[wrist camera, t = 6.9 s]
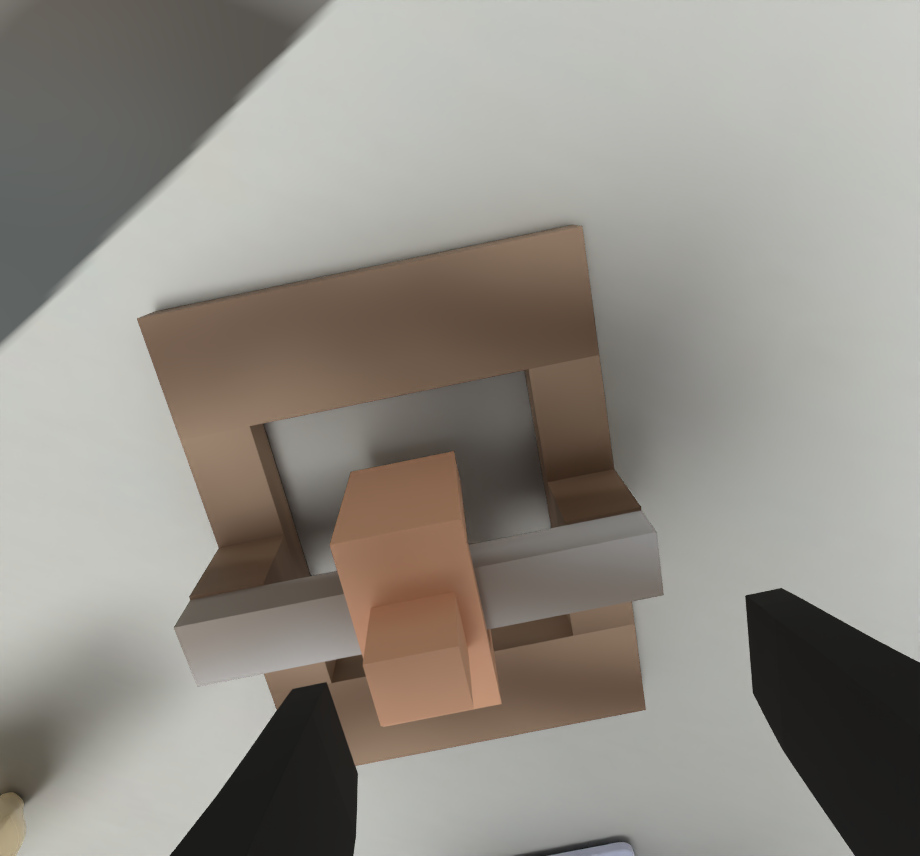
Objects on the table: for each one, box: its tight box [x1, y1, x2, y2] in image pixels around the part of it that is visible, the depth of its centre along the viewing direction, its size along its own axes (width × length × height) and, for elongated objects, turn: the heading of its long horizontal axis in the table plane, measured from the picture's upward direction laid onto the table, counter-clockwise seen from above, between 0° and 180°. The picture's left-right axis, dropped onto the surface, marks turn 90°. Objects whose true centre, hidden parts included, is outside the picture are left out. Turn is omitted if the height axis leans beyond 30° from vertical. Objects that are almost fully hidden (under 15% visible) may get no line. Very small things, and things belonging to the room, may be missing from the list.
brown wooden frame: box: [137, 225, 664, 766], centre depth 19 cm, size 16×12×5 cm
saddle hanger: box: [330, 451, 502, 727], centre depth 17 cm, size 5×3×6 cm, turn 11°
